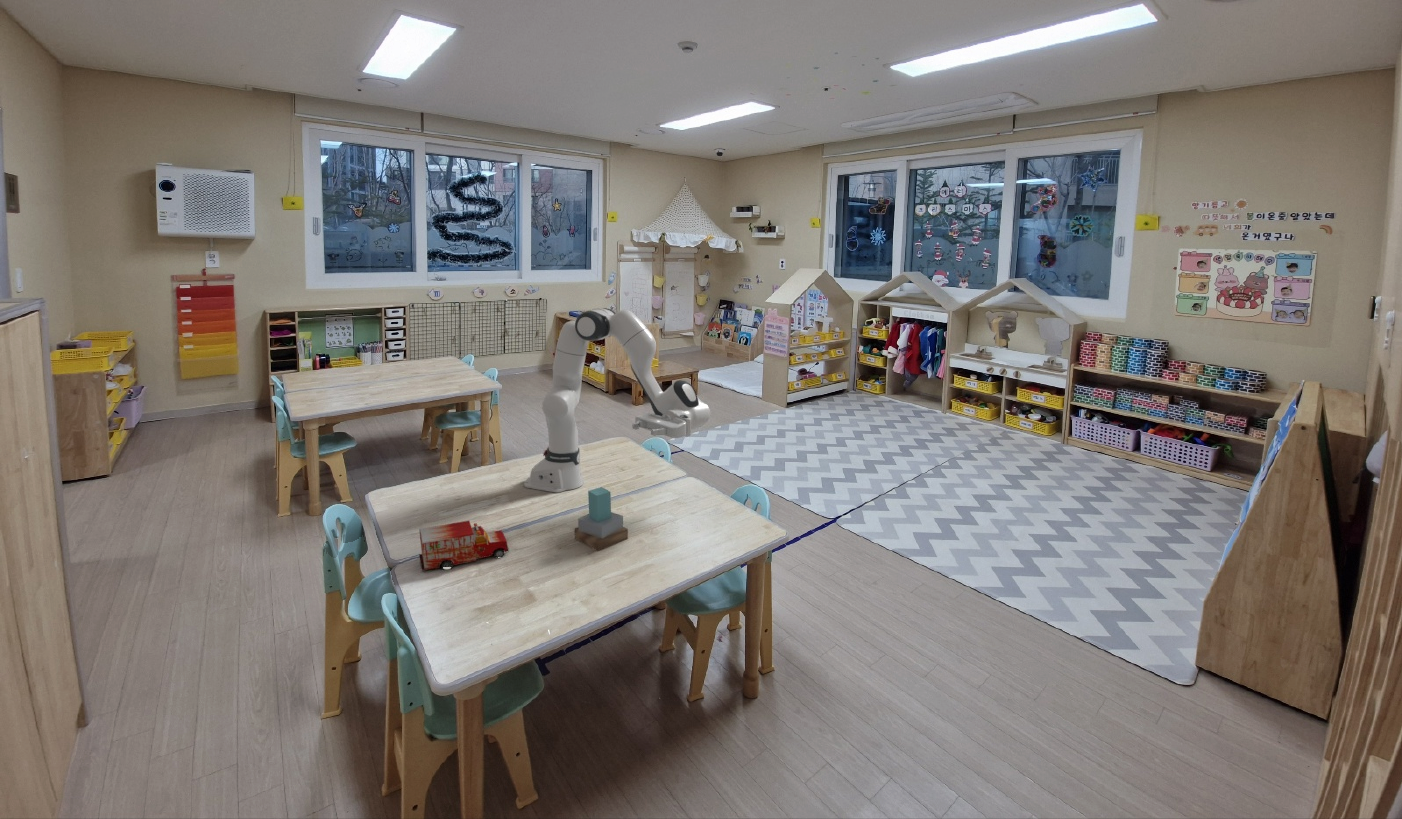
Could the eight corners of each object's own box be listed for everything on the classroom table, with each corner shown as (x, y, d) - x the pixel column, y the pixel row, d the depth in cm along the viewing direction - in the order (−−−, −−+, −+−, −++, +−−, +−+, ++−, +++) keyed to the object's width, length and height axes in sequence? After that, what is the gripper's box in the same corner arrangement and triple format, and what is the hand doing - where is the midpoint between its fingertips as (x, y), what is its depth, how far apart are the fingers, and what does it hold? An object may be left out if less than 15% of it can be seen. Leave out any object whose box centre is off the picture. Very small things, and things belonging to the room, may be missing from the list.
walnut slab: (574, 540, 213) (574, 528, 212) (604, 528, 222) (604, 517, 221) (598, 552, 205) (597, 540, 204) (627, 540, 214) (627, 528, 213)
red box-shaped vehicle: (510, 558, 200) (508, 527, 198) (422, 575, 190) (419, 543, 187) (504, 543, 210) (502, 513, 207) (419, 558, 199) (416, 527, 197)
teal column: (589, 517, 211) (588, 490, 209) (602, 512, 214) (601, 486, 212) (597, 522, 208) (596, 495, 205) (611, 518, 211) (610, 491, 208)
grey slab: (578, 530, 211) (578, 518, 210) (599, 519, 219) (599, 508, 218) (602, 538, 206) (601, 526, 205) (623, 527, 214) (623, 515, 213)
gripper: (653, 407, 236) (622, 414, 226) (694, 419, 222) (663, 427, 212) (653, 424, 237) (623, 432, 228) (693, 437, 224) (663, 446, 214)
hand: (642, 429), depth 220 cm, fingers open, 8 cm apart
